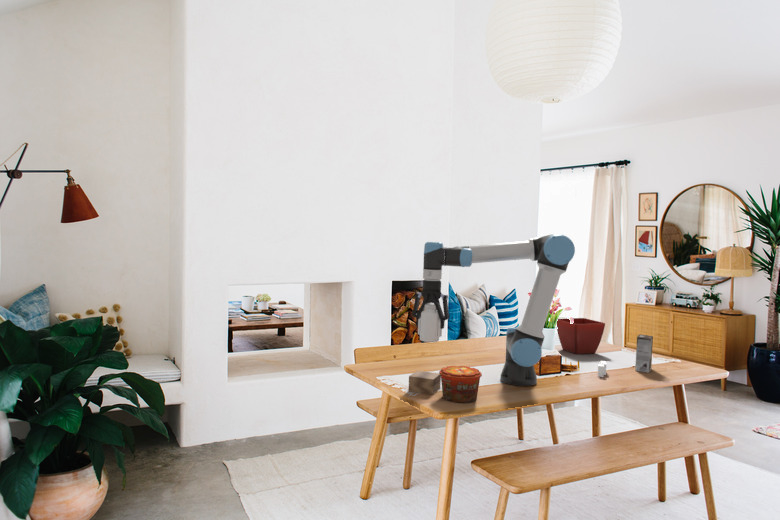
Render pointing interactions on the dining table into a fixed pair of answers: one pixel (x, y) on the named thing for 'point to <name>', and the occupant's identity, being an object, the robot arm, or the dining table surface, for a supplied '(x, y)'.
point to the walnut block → (424, 382)
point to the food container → (460, 383)
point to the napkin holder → (602, 369)
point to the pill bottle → (429, 324)
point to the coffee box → (644, 353)
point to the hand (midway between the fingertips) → (429, 335)
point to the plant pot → (580, 335)
